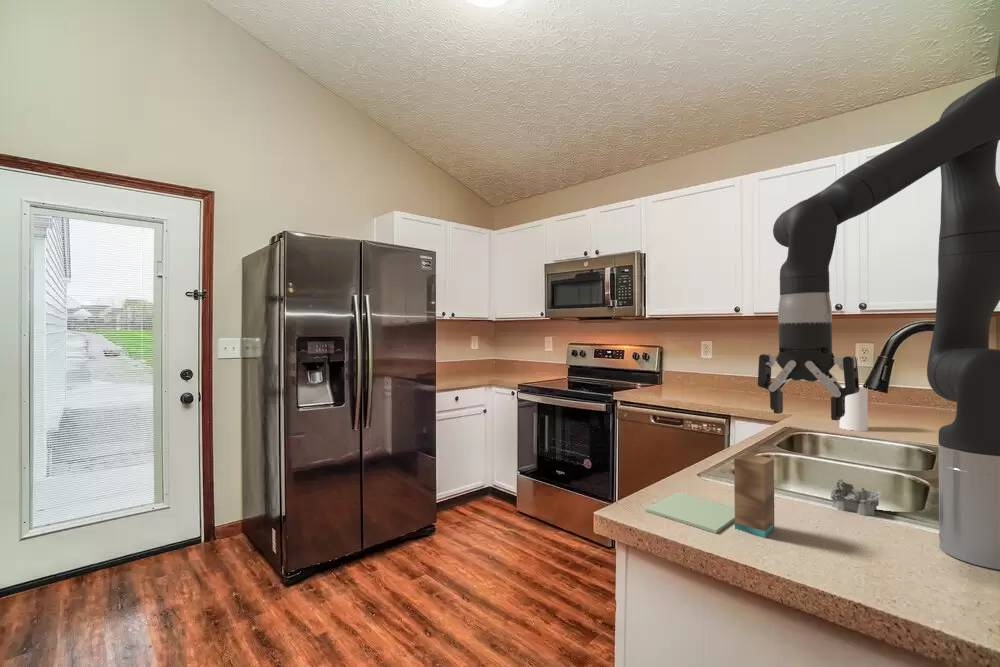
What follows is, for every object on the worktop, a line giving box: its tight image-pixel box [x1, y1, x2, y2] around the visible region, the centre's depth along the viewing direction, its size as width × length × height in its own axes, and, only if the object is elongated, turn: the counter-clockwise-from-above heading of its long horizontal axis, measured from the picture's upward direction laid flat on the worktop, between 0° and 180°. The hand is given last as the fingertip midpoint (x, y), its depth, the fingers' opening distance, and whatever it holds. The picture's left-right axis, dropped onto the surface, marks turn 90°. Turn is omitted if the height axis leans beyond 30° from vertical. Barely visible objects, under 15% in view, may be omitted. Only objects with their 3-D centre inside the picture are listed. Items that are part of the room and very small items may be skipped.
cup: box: [838, 383, 869, 432], centre depth 166 cm, size 8×8×16 cm
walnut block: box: [733, 453, 775, 539], centre depth 83 cm, size 5×5×13 cm
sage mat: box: [645, 491, 735, 534], centre depth 91 cm, size 14×14×1 cm
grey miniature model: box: [830, 478, 882, 517], centre depth 93 cm, size 11×8×4 cm
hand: (805, 416), depth 77 cm, fingers open, 8 cm apart
